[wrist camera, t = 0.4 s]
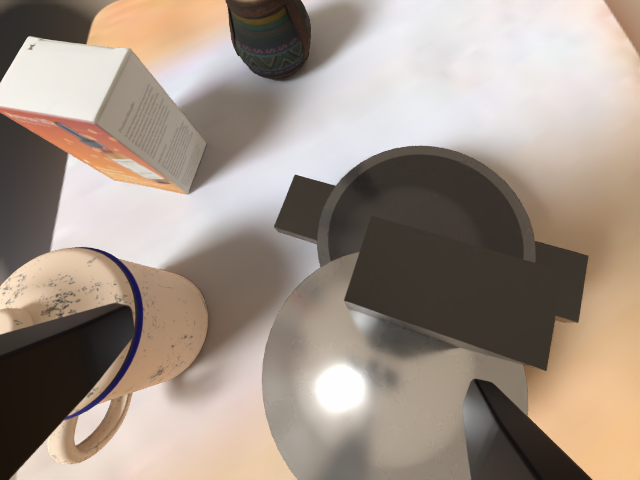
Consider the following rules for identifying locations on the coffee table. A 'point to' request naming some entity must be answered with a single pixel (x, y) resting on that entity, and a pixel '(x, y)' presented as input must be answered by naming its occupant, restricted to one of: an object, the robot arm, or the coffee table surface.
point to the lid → (401, 354)
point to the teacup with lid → (98, 290)
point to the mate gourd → (270, 35)
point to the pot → (426, 211)
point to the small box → (102, 112)
